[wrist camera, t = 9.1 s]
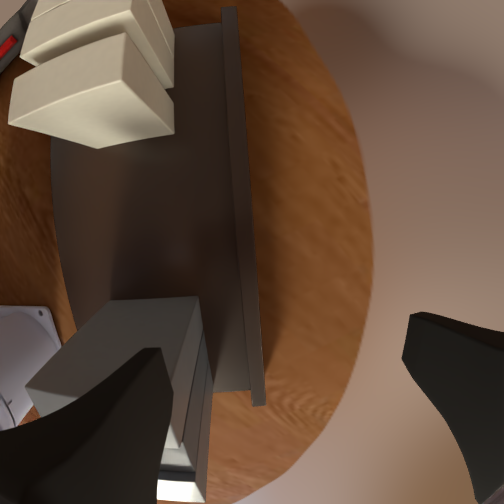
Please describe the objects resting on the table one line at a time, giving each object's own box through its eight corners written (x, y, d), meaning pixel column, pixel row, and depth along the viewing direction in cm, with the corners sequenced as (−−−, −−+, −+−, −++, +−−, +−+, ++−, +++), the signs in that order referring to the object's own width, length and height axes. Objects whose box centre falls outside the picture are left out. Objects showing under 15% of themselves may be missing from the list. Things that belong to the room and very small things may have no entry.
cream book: (96, 149, 15) (6, 124, 7) (97, 118, 15) (13, 78, 6) (174, 134, 16) (121, 81, 7) (173, 102, 15) (126, 30, 6)
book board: (102, 382, 20) (90, 403, 17) (64, 66, 15) (45, 54, 12) (262, 381, 21) (266, 405, 18) (235, 28, 15) (236, 5, 12)
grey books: (134, 384, 19) (90, 486, 9) (109, 300, 18) (23, 386, 7) (213, 385, 19) (205, 502, 9) (198, 295, 18) (164, 405, 8)
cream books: (98, 104, 15) (18, 57, 6) (102, 52, 14) (41, -9, 5) (174, 87, 15) (130, 10, 6) (174, 35, 14) (143, -50, 5)
